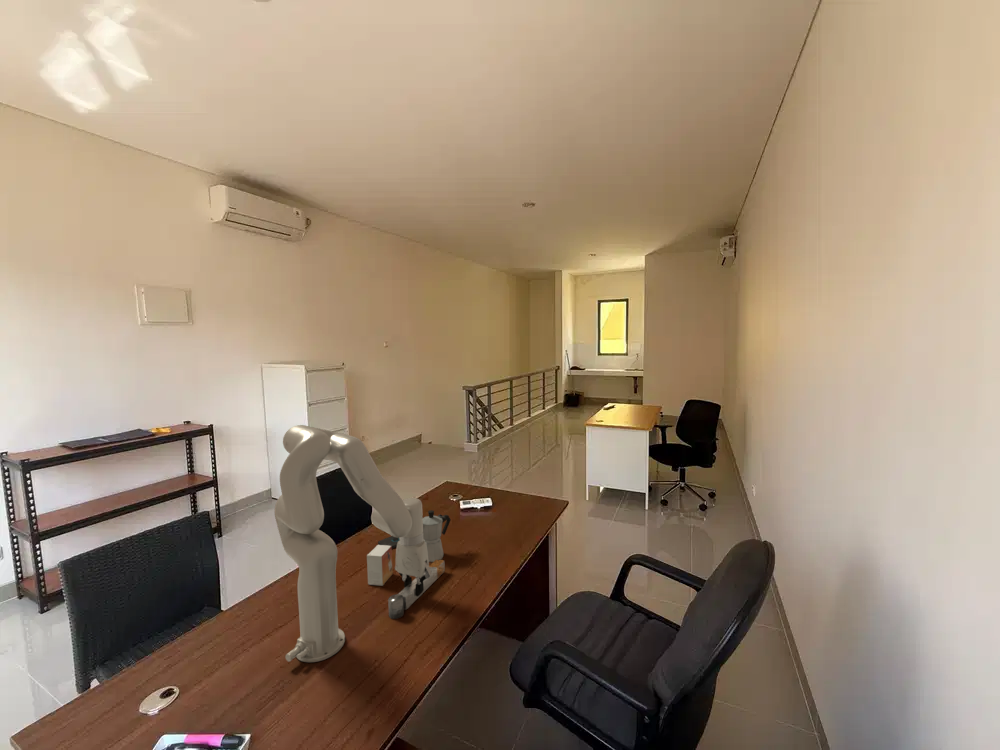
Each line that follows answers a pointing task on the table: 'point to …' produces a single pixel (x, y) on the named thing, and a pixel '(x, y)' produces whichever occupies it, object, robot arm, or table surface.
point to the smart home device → (389, 541)
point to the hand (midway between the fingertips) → (414, 591)
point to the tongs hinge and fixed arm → (401, 599)
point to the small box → (379, 565)
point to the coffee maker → (434, 534)
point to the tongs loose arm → (410, 595)
